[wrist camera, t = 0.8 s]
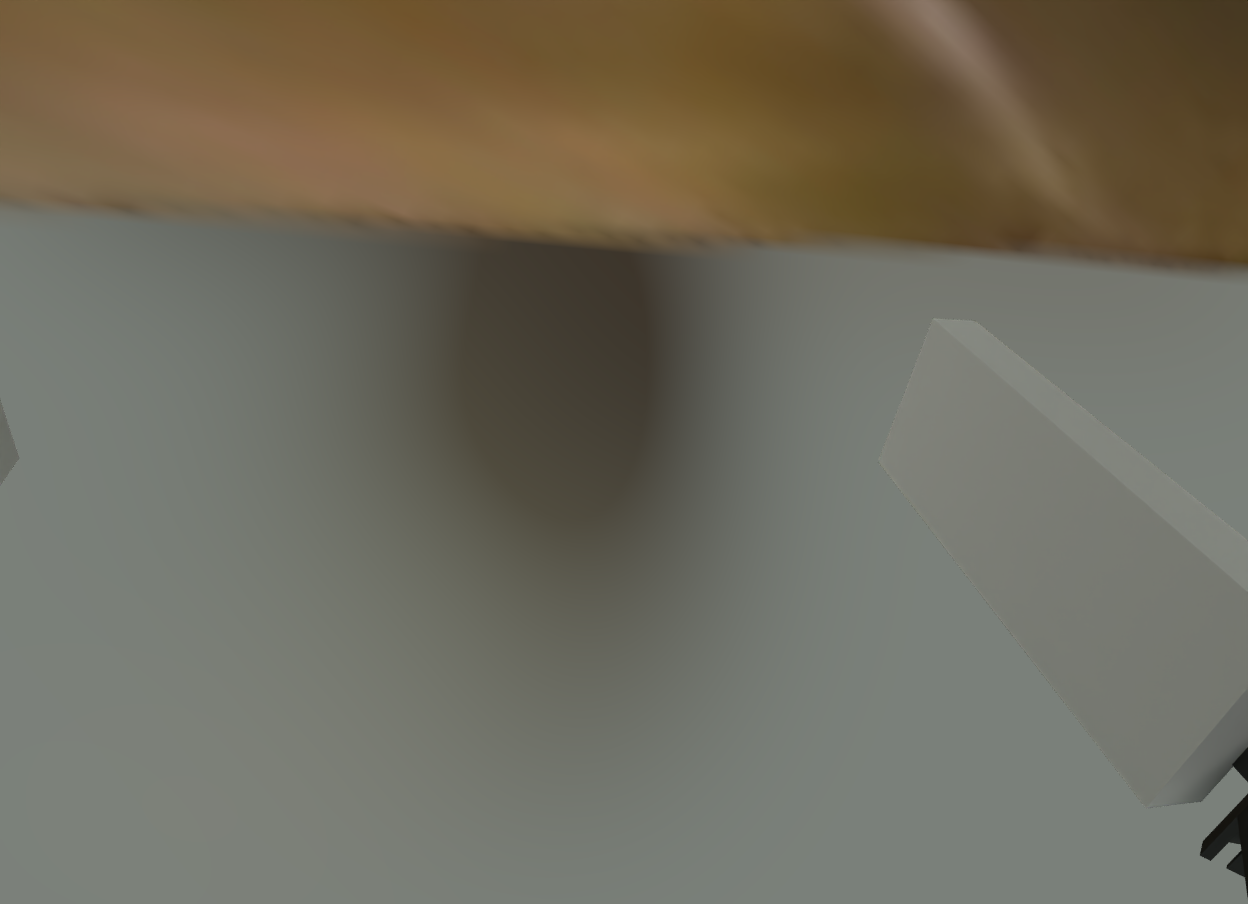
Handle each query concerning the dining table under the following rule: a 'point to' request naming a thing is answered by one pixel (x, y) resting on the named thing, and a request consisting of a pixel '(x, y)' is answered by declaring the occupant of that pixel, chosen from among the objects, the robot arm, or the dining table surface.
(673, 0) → the dining table surface
